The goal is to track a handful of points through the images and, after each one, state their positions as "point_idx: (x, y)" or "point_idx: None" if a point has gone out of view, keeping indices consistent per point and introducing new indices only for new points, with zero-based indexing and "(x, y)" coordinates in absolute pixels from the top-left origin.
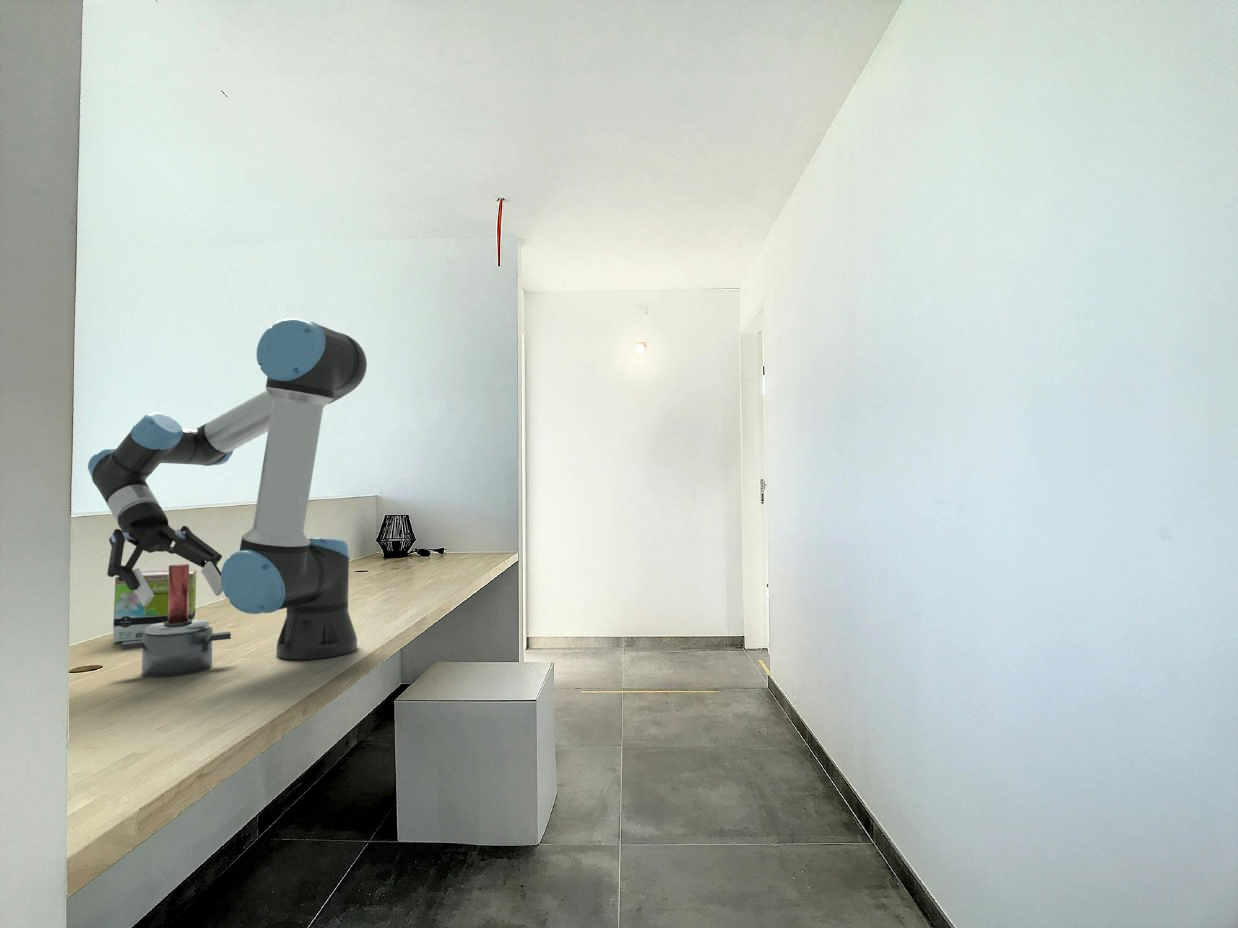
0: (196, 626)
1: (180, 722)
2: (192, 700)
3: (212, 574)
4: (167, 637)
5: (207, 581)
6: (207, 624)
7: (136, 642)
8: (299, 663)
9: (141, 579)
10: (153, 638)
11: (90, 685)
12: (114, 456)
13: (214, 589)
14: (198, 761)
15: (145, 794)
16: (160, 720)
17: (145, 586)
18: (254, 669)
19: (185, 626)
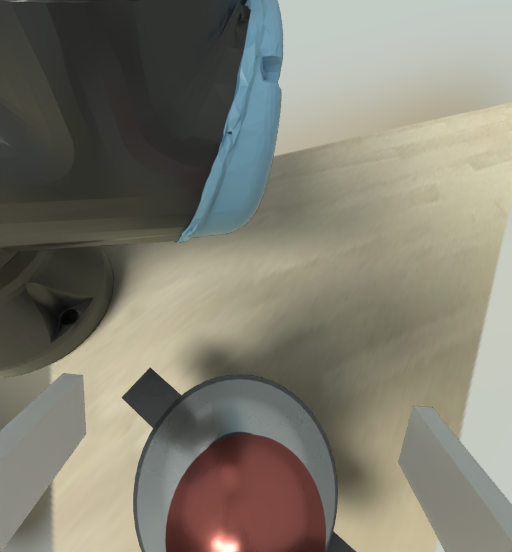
0: (242, 380)
1: (412, 195)
2: (360, 246)
3: (9, 472)
4: (312, 413)
5: (15, 531)
6: (194, 393)
7: (337, 549)
8: (134, 260)
9: (507, 505)
10: (331, 455)
11: (415, 536)
12: None
13: (68, 446)
14: (446, 122)
15: (491, 113)
16: (422, 217)
17: (465, 455)
18: (192, 301)
19: (253, 417)
